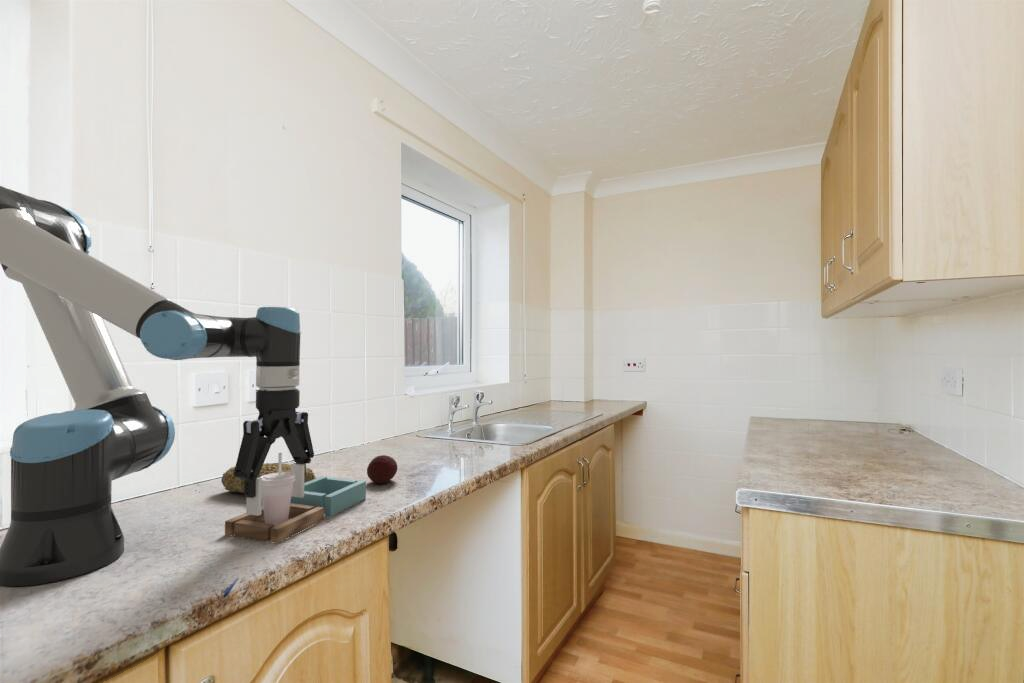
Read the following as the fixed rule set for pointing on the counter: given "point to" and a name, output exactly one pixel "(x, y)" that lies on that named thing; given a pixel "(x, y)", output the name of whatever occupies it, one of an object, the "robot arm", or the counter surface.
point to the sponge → (268, 468)
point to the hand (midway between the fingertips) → (276, 504)
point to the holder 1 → (256, 530)
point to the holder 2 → (332, 494)
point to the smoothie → (277, 495)
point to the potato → (382, 469)
